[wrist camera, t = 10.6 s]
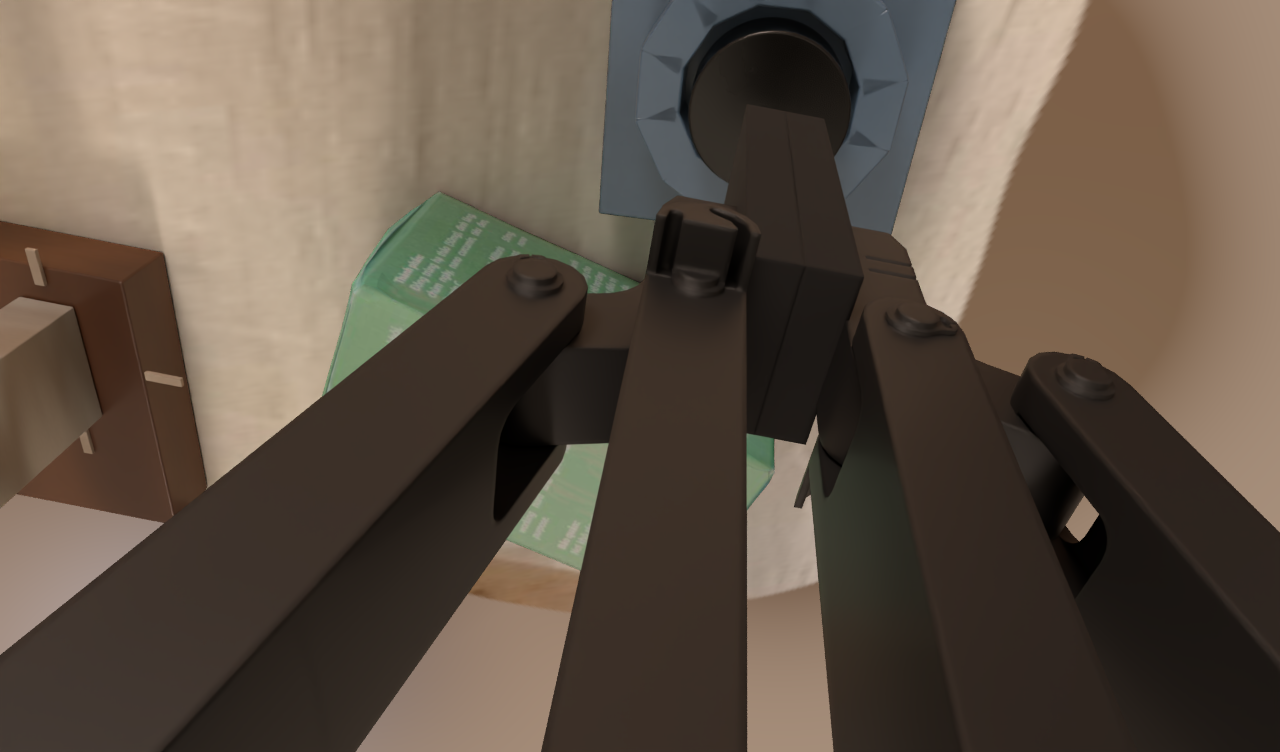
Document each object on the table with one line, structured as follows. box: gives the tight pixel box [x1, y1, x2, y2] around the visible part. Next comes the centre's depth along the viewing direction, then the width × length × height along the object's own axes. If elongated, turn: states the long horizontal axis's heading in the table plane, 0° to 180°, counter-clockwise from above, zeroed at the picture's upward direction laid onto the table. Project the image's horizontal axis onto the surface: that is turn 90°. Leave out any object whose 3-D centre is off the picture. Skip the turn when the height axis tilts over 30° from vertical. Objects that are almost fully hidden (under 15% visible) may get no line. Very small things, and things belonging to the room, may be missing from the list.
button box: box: [599, 0, 956, 235], centre depth 23 cm, size 9×9×4 cm
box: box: [322, 192, 775, 571], centre depth 28 cm, size 7×14×8 cm, turn 66°
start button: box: [688, 17, 851, 183], centre depth 21 cm, size 4×4×2 cm
